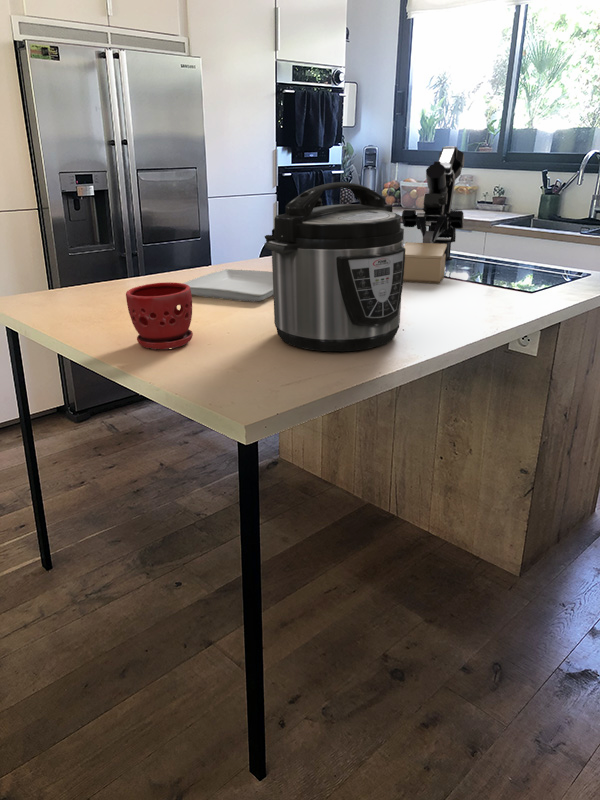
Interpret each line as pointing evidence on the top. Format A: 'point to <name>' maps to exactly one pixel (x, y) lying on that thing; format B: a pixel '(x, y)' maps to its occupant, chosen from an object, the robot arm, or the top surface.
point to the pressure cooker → (337, 271)
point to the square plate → (234, 285)
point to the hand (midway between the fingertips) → (428, 241)
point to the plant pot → (161, 314)
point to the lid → (425, 248)
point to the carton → (424, 270)
